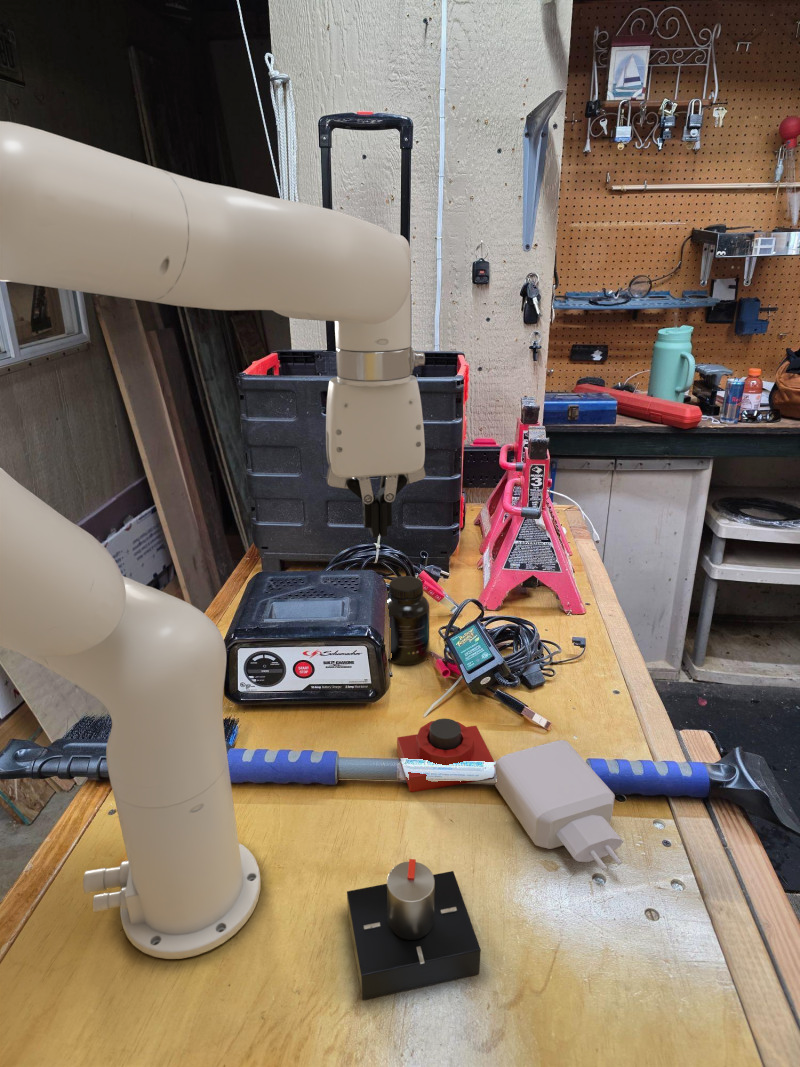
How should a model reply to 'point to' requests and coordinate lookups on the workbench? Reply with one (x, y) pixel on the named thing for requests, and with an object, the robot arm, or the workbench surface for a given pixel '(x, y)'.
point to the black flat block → (411, 942)
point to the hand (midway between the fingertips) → (377, 532)
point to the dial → (410, 900)
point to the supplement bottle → (408, 620)
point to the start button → (445, 734)
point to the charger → (560, 801)
